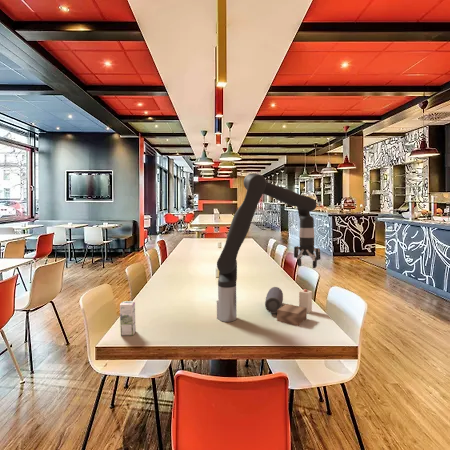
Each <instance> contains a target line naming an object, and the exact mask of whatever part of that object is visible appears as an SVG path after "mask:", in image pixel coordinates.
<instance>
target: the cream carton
mask: <svg viewBox="0 0 450 450" xmlns="http://www.w3.org/2000/svg"><path fill="white" fill-rule="evenodd" d="M298 293H299V294H298V297H299V298H298V300H299V301H298V303H299V304H298V306H300V307H306V308H307V314H310V313H311V312H313V309H312V308H313V291H312V290H308V289H307V288H304V289H302V290H299V291H298Z"/></svg>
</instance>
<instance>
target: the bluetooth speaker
mask: <svg viewBox="0 0 450 450" xmlns="http://www.w3.org/2000/svg"><path fill="white" fill-rule="evenodd" d="M283 302H284V294H283V291H282V289H281V288H280V287H278V286H273V287H270V289H269V290H268V292H267V293H266V297H265V302H264V305H265V309H266V311H267V312H268V313H271V314H277V310H278V309H279V308H281V307H283V306H282V305H283Z"/></svg>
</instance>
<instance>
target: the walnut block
mask: <svg viewBox="0 0 450 450" xmlns="http://www.w3.org/2000/svg"><path fill="white" fill-rule="evenodd" d="M307 319H308V318H307V308H306V307H300V306H299V305H294V304H289V303H287V304H284V305H283V306H281V308H279V309H278V310H277V313H276V321H277V322H280V323H285V324H289V325H294V326H299V325H301V323H303V322H305V321H306V320H307Z"/></svg>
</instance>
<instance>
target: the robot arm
mask: <svg viewBox="0 0 450 450" xmlns="http://www.w3.org/2000/svg"><path fill="white" fill-rule="evenodd" d="M243 186H244V189H246V194H245V196H244V199H243V201H242V203H241V205H240V206H239V207H238V208H237V210H236V211H235V213H234V215H233V217H232V220H231V223H230V226H229V229H228V233H227V237H226V241H225V244H224V247H223V249H222V251H221V253H220V255H219V258H218V259H217V261H216V267H217V270H218V280H217V292H218V294H217V300H216V319H217V320H219V321H220V322H224V323H225V322H226V323H227V322H230V323H231V322H233V321H236V320H237V318H238V317H237V312H238V311H237V280H238V261H237V260H238V259H237V258H238V254H239V251H240V248H241V247H242V244H243V243H244V241H245V239H246V238H247V235H248V233H249V230H250V227H251V224H252V221H253V218H254V215H255V213H256V210H257V208H258V205H259V202H260V200H261V198H262V196H263V195H265V196H268V197H270V198H272V199H275V200H277V201H278V202H280V203H284V204H286V205H289V206H292V207H296V208H297V213H298V217H299V236H298V237H299V245H296V246H294V247H293V258H295V259H297V262H296V263H297V266H298V267H302V257H303V256H306V257H310V258H311V260H312V269H316V268H317V266H318V263H317V262H318V261H319V260H321V248H320V247H318V248H317V247H316V248H315V228H314V227H315V226H314V225H315V222H314V221H315V220H314V217H313V216H312V215H311V213H310V212H313V211H315V210H316V208H317V206H318V205H317V201H316V199H314V198H313V197H310V196H307V195H303V194H299V193H297V192H295V191H293V190H290V189H288V188H286V187H285V188H284V187H283V186H279V185H276V184H273V183H271V182H268V181H266V177H265V176H263V175H262V174H259V173H249V174H247V175H245V177H244V179H243ZM299 251H300V252H299Z"/></svg>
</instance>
